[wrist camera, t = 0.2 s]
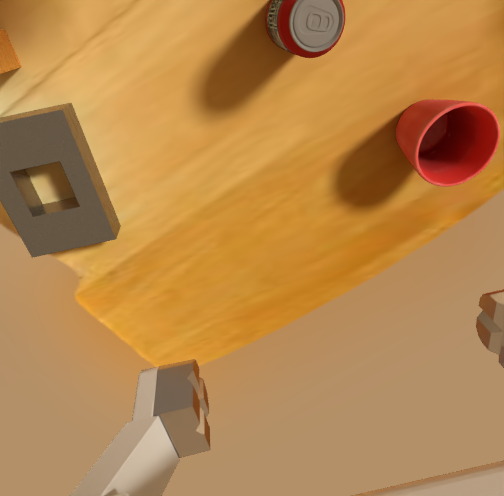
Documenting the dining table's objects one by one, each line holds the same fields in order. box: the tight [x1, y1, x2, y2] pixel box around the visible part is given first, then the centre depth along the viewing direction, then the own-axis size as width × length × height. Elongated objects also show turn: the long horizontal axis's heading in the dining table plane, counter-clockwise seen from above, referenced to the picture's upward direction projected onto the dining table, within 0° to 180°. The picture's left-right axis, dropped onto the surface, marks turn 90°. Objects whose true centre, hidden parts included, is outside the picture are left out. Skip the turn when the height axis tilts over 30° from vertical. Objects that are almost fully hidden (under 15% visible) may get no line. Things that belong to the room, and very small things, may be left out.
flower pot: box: [396, 100, 500, 186], centre depth 54 cm, size 11×11×10 cm
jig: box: [0, 103, 120, 257], centre depth 54 cm, size 18×12×4 cm, turn 10°
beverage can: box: [265, 0, 345, 58], centre depth 44 cm, size 7×7×12 cm
